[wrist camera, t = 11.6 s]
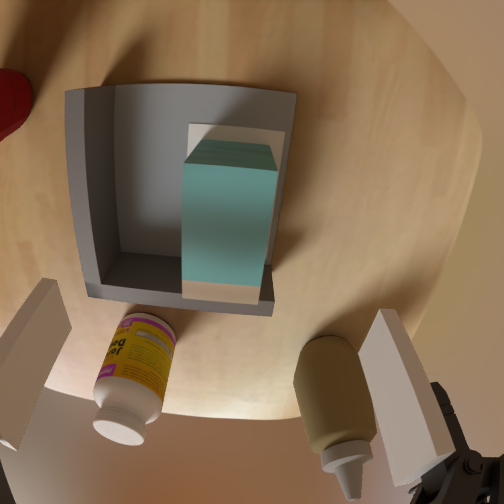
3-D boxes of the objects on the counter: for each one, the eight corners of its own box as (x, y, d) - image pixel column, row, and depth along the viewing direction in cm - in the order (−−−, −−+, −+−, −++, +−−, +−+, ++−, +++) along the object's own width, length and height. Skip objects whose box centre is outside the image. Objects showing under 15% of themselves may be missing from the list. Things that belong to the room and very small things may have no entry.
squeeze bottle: (294, 377, 37) (310, 514, 21) (284, 335, 33) (302, 499, 17) (357, 364, 36) (392, 496, 20) (358, 320, 32) (408, 474, 16)
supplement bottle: (134, 299, 30) (93, 405, 19) (188, 331, 32) (169, 438, 21) (111, 333, 33) (75, 427, 22) (159, 359, 35) (138, 455, 24)
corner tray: (100, 86, 20) (65, 90, 15) (296, 93, 21) (310, 97, 16) (109, 261, 28) (88, 296, 23) (268, 276, 29) (271, 316, 24)
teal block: (255, 250, 27) (257, 304, 21) (196, 245, 26) (182, 298, 20) (269, 145, 22) (278, 171, 16) (201, 139, 22) (183, 163, 16)
